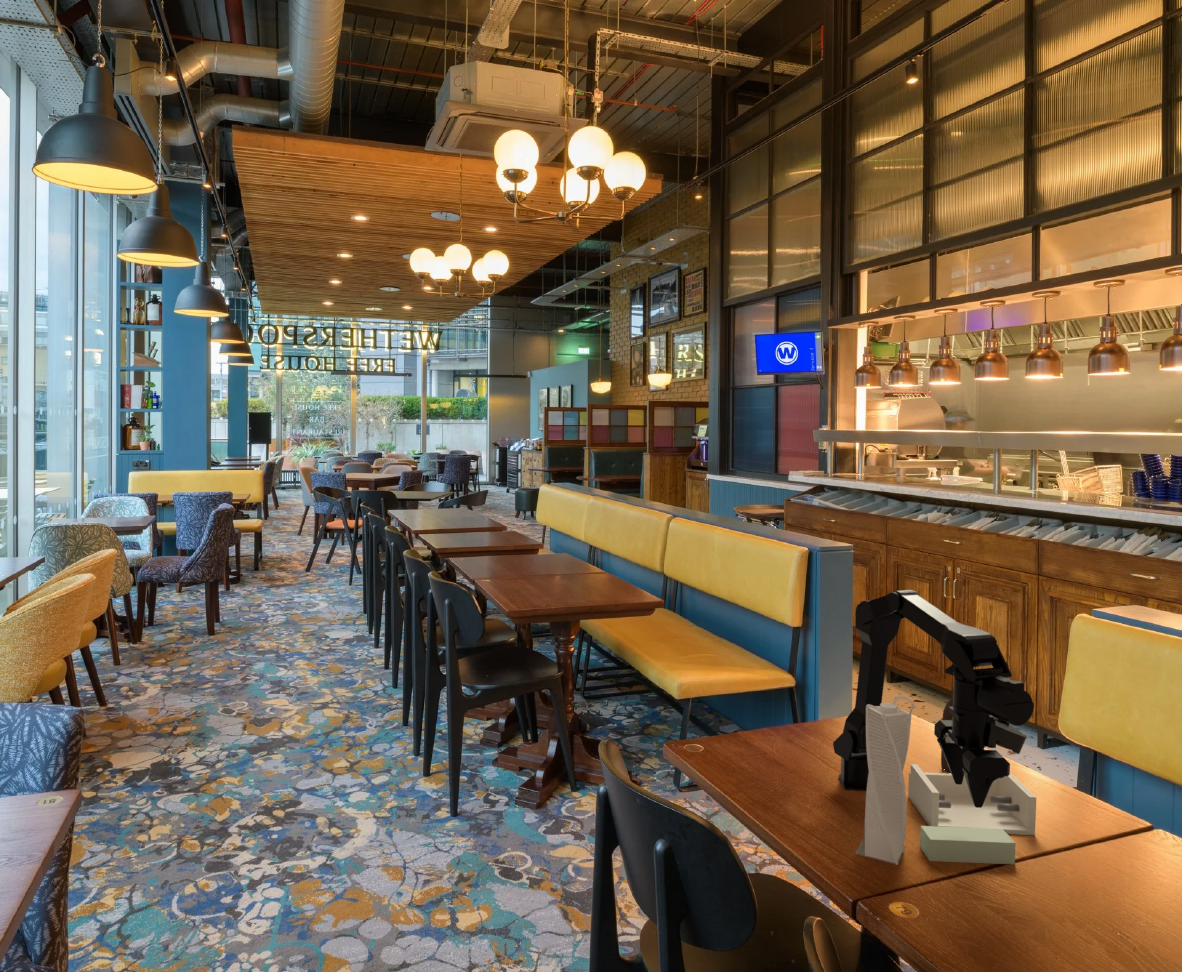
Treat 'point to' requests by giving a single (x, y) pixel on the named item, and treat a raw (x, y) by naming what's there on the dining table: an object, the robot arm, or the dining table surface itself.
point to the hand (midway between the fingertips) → (968, 795)
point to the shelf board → (967, 845)
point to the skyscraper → (886, 782)
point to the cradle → (955, 808)
